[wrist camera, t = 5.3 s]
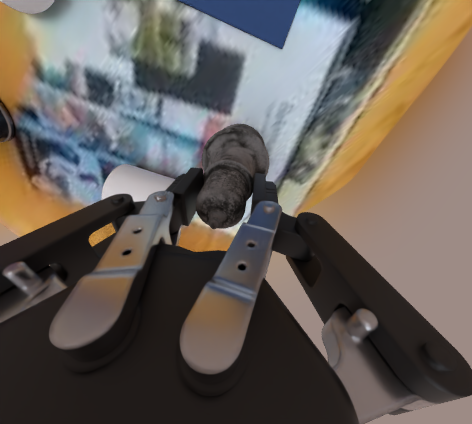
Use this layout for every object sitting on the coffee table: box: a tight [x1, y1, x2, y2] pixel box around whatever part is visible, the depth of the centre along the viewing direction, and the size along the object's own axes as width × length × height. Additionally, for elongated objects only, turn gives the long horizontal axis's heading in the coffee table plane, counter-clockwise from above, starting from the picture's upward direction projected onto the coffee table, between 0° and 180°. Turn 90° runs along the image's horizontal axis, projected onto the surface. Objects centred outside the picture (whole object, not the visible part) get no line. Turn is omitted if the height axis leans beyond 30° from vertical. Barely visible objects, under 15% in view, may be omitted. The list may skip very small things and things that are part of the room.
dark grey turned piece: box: [196, 124, 269, 229], centre depth 14 cm, size 6×6×12 cm
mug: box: [102, 164, 182, 228], centre depth 29 cm, size 12×10×8 cm
